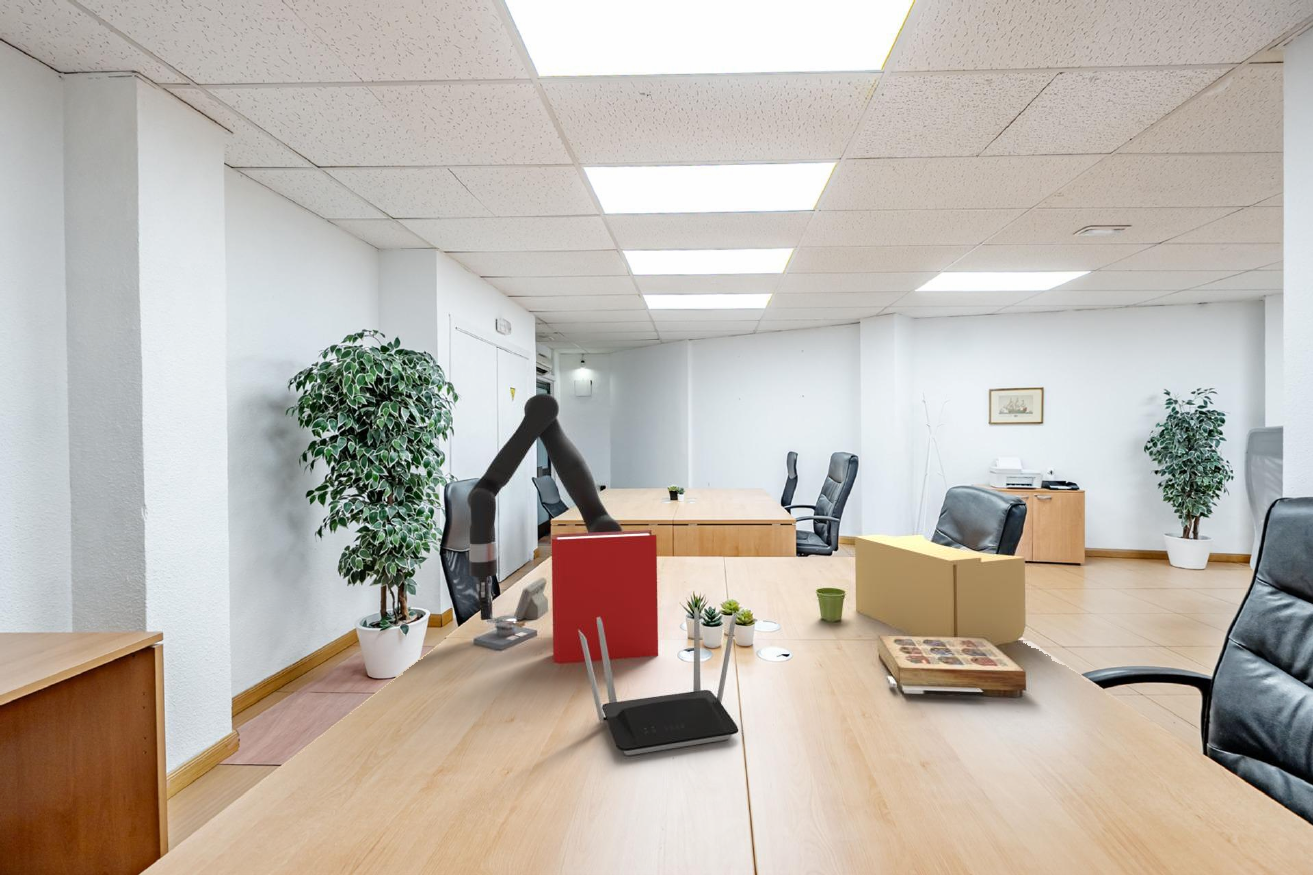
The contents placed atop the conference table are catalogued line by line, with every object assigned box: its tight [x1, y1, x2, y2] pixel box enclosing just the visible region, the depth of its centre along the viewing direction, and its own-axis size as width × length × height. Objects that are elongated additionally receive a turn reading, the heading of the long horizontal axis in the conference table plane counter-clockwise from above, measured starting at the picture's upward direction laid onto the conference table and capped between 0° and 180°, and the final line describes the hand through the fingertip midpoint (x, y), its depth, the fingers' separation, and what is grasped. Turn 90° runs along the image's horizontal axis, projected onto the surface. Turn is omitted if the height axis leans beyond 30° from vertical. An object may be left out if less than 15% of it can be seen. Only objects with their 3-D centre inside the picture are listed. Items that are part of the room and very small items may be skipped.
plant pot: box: [815, 587, 847, 622], centre depth 187 cm, size 9×9×9 cm
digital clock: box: [513, 577, 549, 621], centre depth 196 cm, size 16×9×11 cm, turn 158°
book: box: [550, 529, 659, 665], centre depth 160 cm, size 27×8×32 cm, turn 100°
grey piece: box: [486, 594, 526, 629], centre depth 173 cm, size 6×13×8 cm, turn 66°
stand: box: [473, 626, 538, 651], centre depth 173 cm, size 11×14×4 cm
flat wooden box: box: [876, 635, 1027, 698], centre depth 141 cm, size 25×6×28 cm
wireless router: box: [579, 607, 739, 756], centre depth 122 cm, size 34×23×20 cm
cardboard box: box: [854, 534, 1027, 646], centre depth 181 cm, size 40×26×24 cm, turn 18°
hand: (484, 618), depth 170 cm, fingers closed
